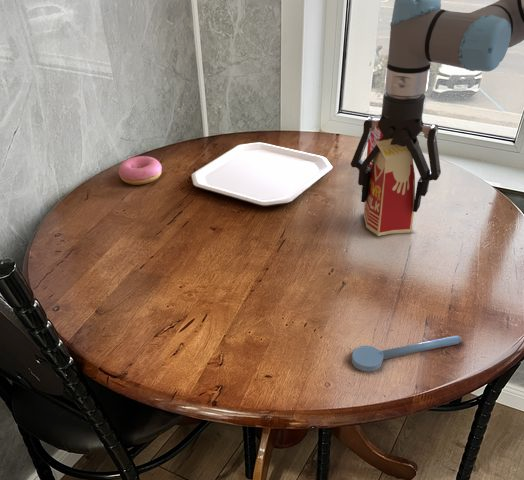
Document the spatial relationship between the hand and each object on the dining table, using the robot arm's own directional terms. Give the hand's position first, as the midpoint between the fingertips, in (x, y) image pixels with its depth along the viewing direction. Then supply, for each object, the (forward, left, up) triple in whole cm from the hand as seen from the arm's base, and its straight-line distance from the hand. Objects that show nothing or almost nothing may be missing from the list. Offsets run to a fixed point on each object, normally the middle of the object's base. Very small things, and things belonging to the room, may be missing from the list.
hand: (390, 204), depth 113 cm
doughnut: (+64, +1, -5) cm, 64 cm away
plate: (+35, -10, -5) cm, 37 cm away
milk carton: (0, 0, -5) cm, 5 cm away
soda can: (+10, -27, -5) cm, 29 cm away
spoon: (-14, +38, -5) cm, 41 cm away
